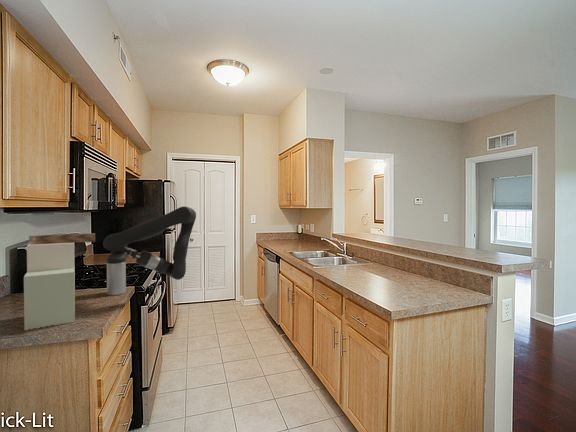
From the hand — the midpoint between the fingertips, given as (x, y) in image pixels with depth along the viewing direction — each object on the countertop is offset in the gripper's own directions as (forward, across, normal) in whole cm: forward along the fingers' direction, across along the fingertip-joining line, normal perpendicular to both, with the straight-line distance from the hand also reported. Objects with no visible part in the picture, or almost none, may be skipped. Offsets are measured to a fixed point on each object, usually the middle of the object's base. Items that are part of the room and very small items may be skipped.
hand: (117, 246), depth 148 cm
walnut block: (+20, 0, +8) cm, 21 cm away
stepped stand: (+8, +5, +38) cm, 39 cm away
